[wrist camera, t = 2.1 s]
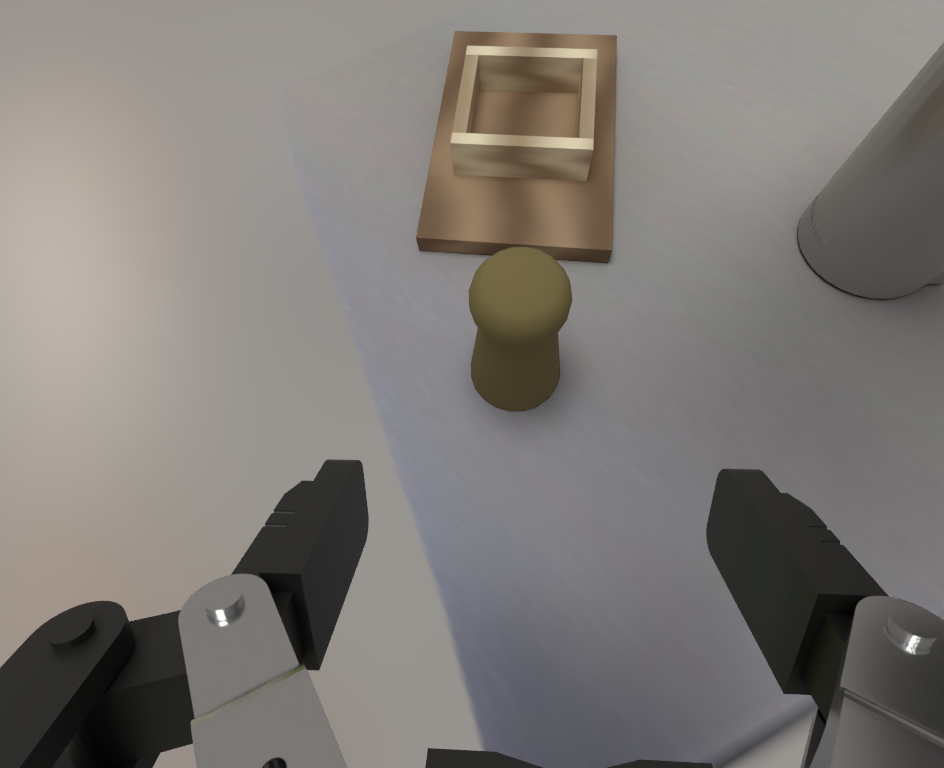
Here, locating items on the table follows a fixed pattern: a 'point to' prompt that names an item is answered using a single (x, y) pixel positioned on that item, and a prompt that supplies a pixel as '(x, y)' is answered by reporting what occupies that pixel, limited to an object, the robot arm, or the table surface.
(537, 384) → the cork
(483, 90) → the collar board
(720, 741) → the table surface
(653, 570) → the table surface
